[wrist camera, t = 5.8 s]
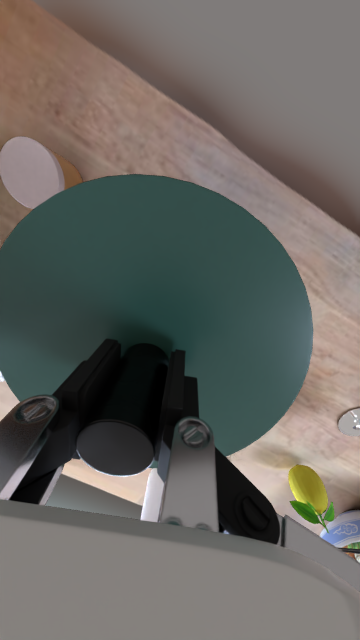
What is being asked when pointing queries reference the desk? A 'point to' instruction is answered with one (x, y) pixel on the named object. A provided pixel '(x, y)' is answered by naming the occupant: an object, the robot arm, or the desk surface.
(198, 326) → the lid
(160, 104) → the desk surface
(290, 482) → the lemon
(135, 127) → the desk surface
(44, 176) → the cake
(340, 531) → the ramen bowl
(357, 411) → the wineglass
